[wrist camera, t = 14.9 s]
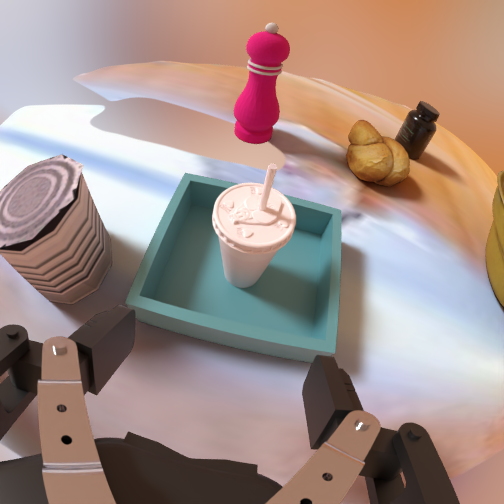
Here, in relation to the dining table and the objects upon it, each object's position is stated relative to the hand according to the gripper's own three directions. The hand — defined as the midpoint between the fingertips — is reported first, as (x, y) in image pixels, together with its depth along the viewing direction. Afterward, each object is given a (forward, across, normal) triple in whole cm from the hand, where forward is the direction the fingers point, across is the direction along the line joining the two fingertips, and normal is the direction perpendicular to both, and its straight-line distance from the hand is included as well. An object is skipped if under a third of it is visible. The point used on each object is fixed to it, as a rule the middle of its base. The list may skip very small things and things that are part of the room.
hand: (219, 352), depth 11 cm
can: (+16, +20, +5) cm, 26 cm away
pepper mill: (+37, +4, -16) cm, 41 cm away
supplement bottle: (+46, -28, -24) cm, 59 cm away
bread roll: (+36, -18, -15) cm, 43 cm away
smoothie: (+18, 0, +2) cm, 18 cm away
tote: (+19, 0, +2) cm, 19 cm away
